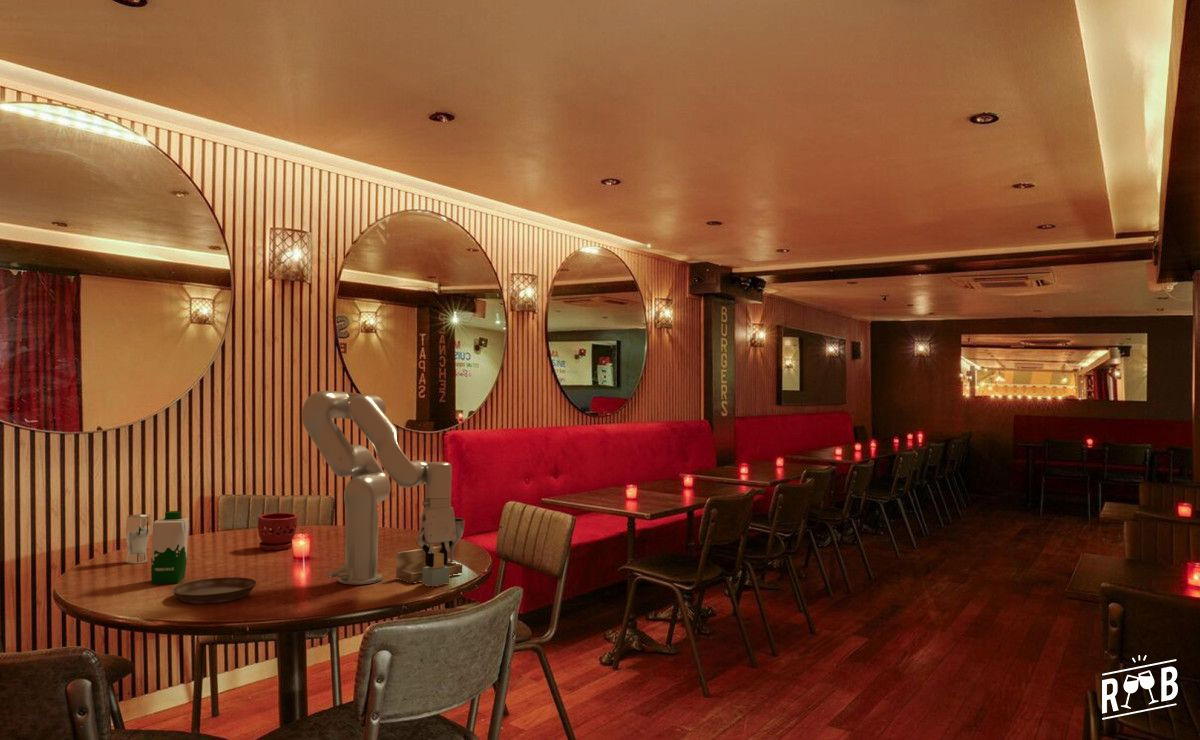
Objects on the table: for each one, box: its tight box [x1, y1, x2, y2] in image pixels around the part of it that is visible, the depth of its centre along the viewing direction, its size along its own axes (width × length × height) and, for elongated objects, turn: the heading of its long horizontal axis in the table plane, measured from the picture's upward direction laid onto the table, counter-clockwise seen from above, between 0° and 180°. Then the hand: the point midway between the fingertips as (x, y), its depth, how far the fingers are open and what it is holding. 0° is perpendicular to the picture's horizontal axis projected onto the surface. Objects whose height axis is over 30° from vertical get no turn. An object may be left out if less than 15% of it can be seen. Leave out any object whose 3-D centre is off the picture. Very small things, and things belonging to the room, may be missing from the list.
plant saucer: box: [171, 576, 258, 605], centre depth 206 cm, size 21×21×3 cm
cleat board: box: [395, 545, 463, 584], centre depth 233 cm, size 18×9×8 cm, turn 136°
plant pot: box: [257, 512, 298, 551], centre depth 272 cm, size 13×13×12 cm
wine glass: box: [448, 517, 465, 562], centre depth 250 cm, size 8×8×15 cm
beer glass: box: [125, 513, 152, 565], centre depth 246 cm, size 7×7×15 cm
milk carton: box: [150, 510, 189, 585], centre depth 221 cm, size 9×9×20 cm
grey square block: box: [421, 553, 450, 586], centre depth 223 cm, size 6×5×9 cm
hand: (436, 564), depth 224 cm, fingers closed on grey square block, 4 cm apart
